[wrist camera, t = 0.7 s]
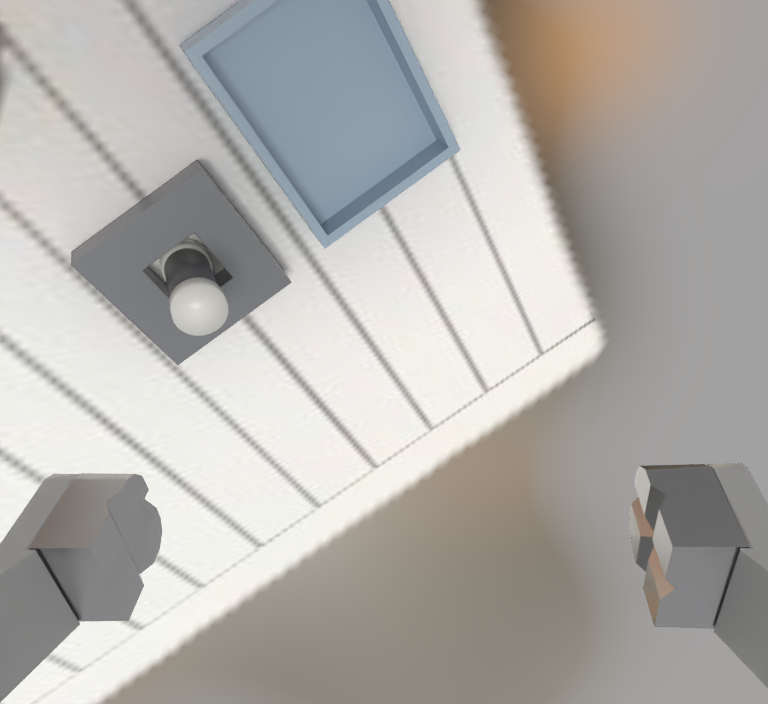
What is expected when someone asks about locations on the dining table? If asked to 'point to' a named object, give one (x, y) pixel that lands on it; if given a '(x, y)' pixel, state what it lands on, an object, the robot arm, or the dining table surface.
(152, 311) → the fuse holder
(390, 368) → the dining table surface
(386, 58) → the parts tray
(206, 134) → the dining table surface
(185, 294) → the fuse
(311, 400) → the dining table surface
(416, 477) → the dining table surface
